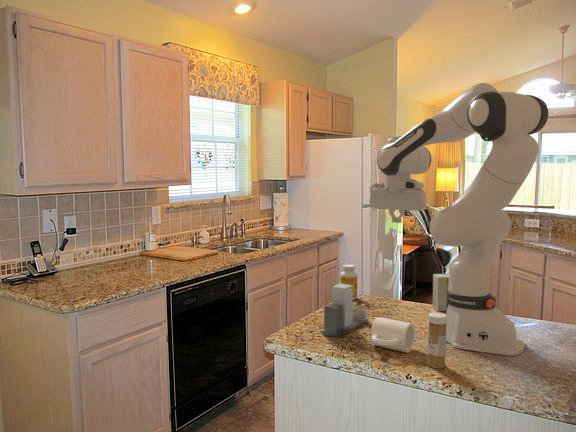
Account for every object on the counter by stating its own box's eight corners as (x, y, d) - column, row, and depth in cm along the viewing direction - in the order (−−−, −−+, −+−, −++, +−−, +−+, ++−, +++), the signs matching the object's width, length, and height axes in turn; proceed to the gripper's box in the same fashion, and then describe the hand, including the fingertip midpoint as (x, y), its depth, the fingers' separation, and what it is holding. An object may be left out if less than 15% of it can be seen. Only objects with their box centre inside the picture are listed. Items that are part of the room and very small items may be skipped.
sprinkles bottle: (423, 363, 124) (424, 312, 123) (437, 360, 126) (439, 310, 124) (435, 370, 120) (436, 318, 118) (449, 367, 122) (451, 315, 120)
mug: (382, 340, 141) (382, 314, 140) (415, 347, 135) (415, 320, 135) (363, 353, 131) (364, 324, 131) (398, 361, 126) (398, 332, 125)
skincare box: (449, 311, 169) (450, 277, 168) (437, 311, 169) (438, 277, 168) (444, 306, 175) (445, 273, 174) (432, 306, 175) (432, 273, 174)
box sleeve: (352, 322, 151) (352, 285, 149) (344, 327, 147) (344, 288, 145) (340, 320, 153) (340, 283, 152) (332, 324, 149) (332, 286, 148)
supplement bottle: (356, 300, 183) (356, 267, 182) (339, 300, 184) (339, 267, 183) (357, 296, 189) (358, 264, 188) (340, 295, 191) (341, 263, 189)
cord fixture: (367, 321, 158) (368, 294, 157) (339, 338, 142) (339, 309, 142) (351, 318, 161) (351, 292, 161) (321, 334, 146) (322, 305, 145)
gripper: (366, 183, 173) (366, 221, 174) (422, 184, 161) (421, 225, 162) (374, 182, 178) (373, 220, 179) (428, 183, 166) (427, 223, 167)
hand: (396, 222), depth 170 cm, fingers closed
